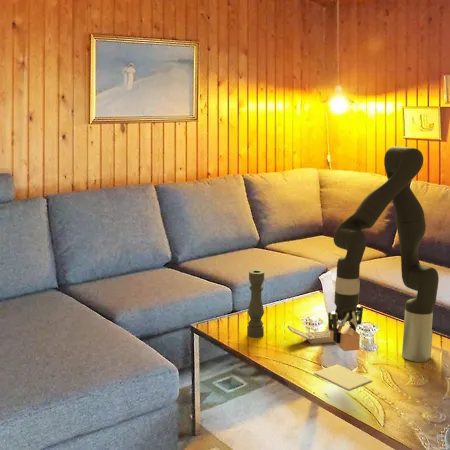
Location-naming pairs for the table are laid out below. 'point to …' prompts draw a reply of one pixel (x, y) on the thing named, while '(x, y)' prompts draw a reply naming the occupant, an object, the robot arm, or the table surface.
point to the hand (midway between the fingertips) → (344, 340)
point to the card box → (347, 338)
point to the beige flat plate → (342, 377)
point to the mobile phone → (314, 336)
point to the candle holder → (255, 305)
